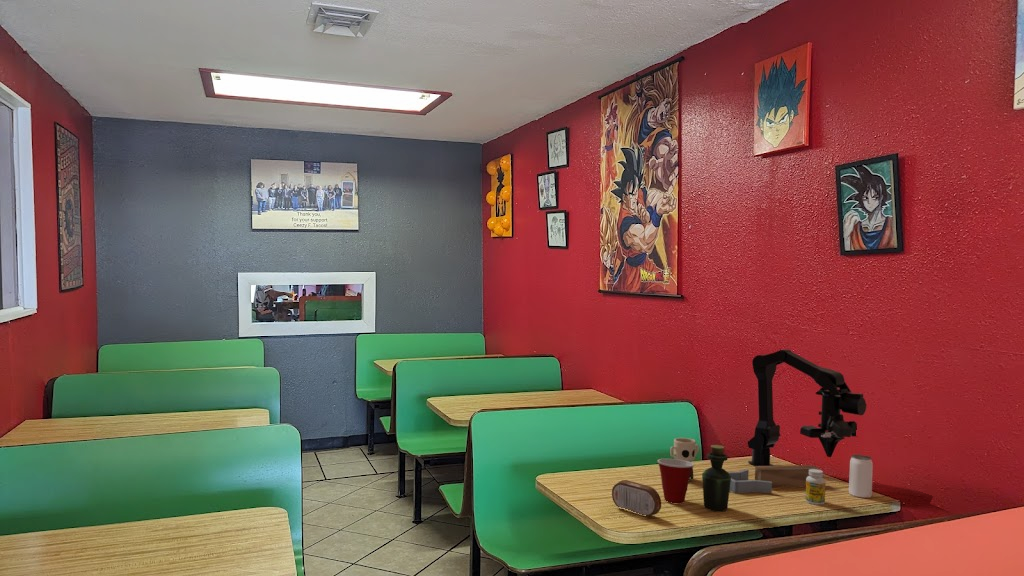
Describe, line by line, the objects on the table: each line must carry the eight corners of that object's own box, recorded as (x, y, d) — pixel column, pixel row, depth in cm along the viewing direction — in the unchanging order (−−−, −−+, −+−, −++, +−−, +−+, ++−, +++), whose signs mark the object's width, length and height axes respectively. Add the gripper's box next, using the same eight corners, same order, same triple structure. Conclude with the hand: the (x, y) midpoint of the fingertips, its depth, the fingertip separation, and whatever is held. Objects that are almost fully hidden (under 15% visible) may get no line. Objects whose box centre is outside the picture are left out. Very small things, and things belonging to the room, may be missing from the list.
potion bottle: (695, 507, 205) (697, 446, 205) (709, 501, 211) (711, 441, 211) (721, 514, 200) (723, 451, 199) (735, 508, 206) (737, 447, 205)
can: (869, 499, 217) (870, 461, 216) (846, 495, 220) (847, 457, 220) (873, 494, 222) (874, 456, 221) (851, 490, 226) (852, 453, 225)
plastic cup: (697, 499, 213) (698, 459, 213) (687, 509, 204) (688, 468, 204) (662, 492, 219) (664, 454, 218) (651, 502, 209) (652, 462, 209)
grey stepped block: (746, 479, 235) (746, 468, 235) (773, 493, 220) (773, 482, 220) (713, 480, 232) (714, 470, 232) (738, 495, 218) (738, 484, 217)
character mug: (675, 483, 228) (677, 443, 228) (663, 477, 235) (664, 438, 235) (704, 480, 232) (705, 441, 232) (691, 474, 239) (692, 436, 239)
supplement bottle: (823, 500, 215) (824, 469, 215) (826, 506, 210) (827, 474, 209) (804, 498, 216) (805, 467, 216) (806, 504, 211) (807, 472, 211)
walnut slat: (754, 484, 231) (755, 466, 231) (812, 483, 233) (812, 465, 233) (760, 488, 227) (761, 469, 227) (818, 487, 229) (819, 468, 229)
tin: (661, 518, 196) (662, 488, 196) (655, 521, 194) (656, 490, 194) (615, 505, 206) (616, 476, 206) (609, 507, 204) (610, 478, 204)
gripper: (821, 415, 223) (820, 464, 223) (872, 414, 227) (870, 462, 228) (800, 408, 234) (798, 455, 234) (849, 407, 238) (847, 453, 238)
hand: (829, 456), depth 233 cm, fingers closed
